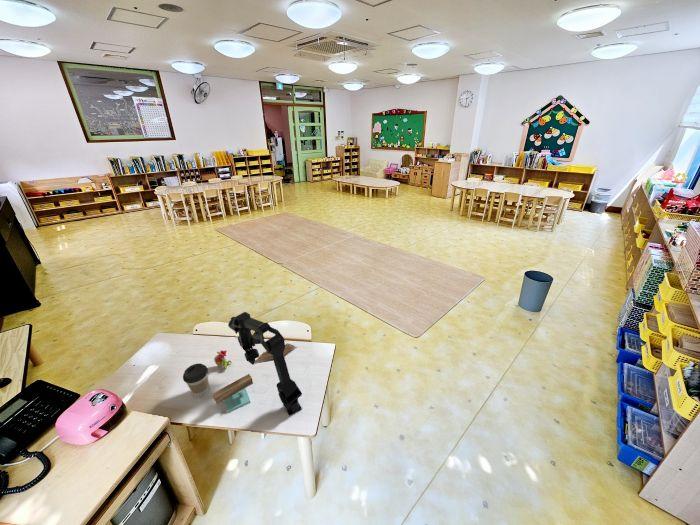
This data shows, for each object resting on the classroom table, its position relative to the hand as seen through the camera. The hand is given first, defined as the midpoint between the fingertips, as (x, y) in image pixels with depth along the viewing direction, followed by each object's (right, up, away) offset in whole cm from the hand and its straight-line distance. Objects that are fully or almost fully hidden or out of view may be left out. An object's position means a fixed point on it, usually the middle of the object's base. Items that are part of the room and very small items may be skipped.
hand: (250, 358), depth 155 cm
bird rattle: (-20, -9, +13) cm, 25 cm away
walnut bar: (-5, -13, -10) cm, 17 cm away
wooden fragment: (+8, -4, +20) cm, 22 cm away
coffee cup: (-24, -16, -3) cm, 29 cm away
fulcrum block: (-4, -18, -8) cm, 20 cm away
